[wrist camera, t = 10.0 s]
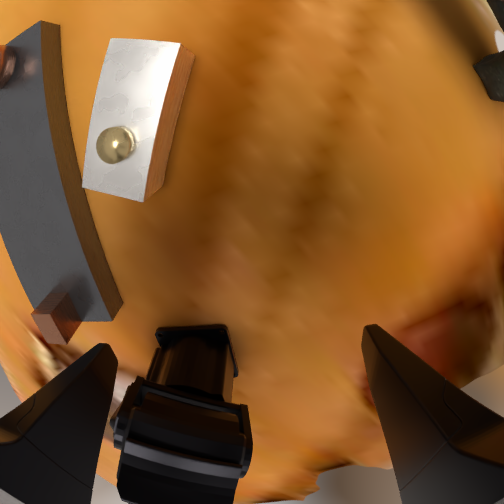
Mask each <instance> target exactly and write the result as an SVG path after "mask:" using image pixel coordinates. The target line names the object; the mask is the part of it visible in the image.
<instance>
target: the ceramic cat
mask: <svg viewBox="0 0 504 504" xmlns="http://www.w3.org/2000/svg"><path fill="white" fill-rule="evenodd" d="M487 2H488V4H489V6H490V7H491V9H492V11H493V13H494V15H495V17H496V19H497V21H498V23H499V25H500V27H501V28H502V30H503V32H504V0H487ZM473 67H474V69H475V70H476V72H477V73H478V75H479V76H480V77H481V79H482V81H483V83H484V85H485V87H486V89H487V92H488V95H489V97H490V99H492V100H495V101H501V102H504V51H502V52H498V53H495V54H491V55H488V56H486V57H484V58H483V59H482V60H481V61H480V62H479V63H477V64H476V65H474V66H473Z"/></svg>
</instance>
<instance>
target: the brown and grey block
mask: <svg viewBox="0 0 504 504" xmlns="http://www.w3.org/2000/svg"><path fill="white" fill-rule="evenodd" d="M194 59H195V55H194V54H192V53H191V52H190V51H189V50H188V49H187V48H185V47H184V46H183V45H182V44H180V43H173V42H164V41H154V40H141V39H122V38H111V39H110V43H109V46H108V49H107V53H106V56H105V60H104V63H103V67H102V71H101V75H100V79H99V83H98V87H97V91H96V96H95V100H94V105H93V110H92V116H91V121H90V127H89V133H88V140H87V147H86V154H85V162H84V172H83V182H82V188H87V189H91V190H95V191H99V192H103V193H107V194H111V195H115V196H119V197H123V198H127V199H131V200H135V201H139V202H144V201H145V200H146V199H148V198H149V197H150V196H151V195H152V194H153V193H155V192H156V191H157V190H158V189H159V188H161V187H162V186H163V182H164V177H165V172H166V167H167V162H168V157H169V153H170V148H171V144H172V140H173V135H174V131H175V127H176V123H177V119H178V115H179V111H180V107H181V103H182V100H183V96H184V92H185V89H186V85H187V82H188V78H189V75H190V72H191V68H192V65H193V62H194Z"/></svg>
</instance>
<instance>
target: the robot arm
mask: <svg viewBox="0 0 504 504" xmlns="http://www.w3.org/2000/svg"><path fill="white" fill-rule="evenodd" d="M220 330H222V331H224V332H221V331H220ZM160 333H161V334H160ZM162 334H163V335H162ZM155 336H156V338H157V340H158V343H159V345H160V348H157V349H156V350H155V353H154V355H153V358H152V361H151V364H150V367H149V369H148V372H147V375H146V378H145V379H144V378H143V377H140V376H137V378H136V380H135V382H134V383H133V382H132V384H131V385H130V386H128V388H127V391H126V393H125V396H124V398H123V401H122V402H121V404H120V406H119V407H118V408H117V410H116V411H115V413H114V414H113V416H112V417H111V419H110V426H111V428H112V430H113V431H114V435H113V436H114V448H117V449H120V450H121V455H120V460H119V466H118V471H117V480H118V481H117V489H118V492H119V495H120V498H121V500H122V501H124V502H127V503H128V504H233V501H234V495H235V490H236V487H237V483H238V480H239V478H243V477H244V476H245V475H246V473H247V471H248V468H249V466H250V462H251V457H252V450H253V440H252V433H251V426H250V420H249V413H248V406H247V405H244V404H240V405H239V404H234V403H231V400H232V388H233V378H234V377H237V376H238V367H237V363H236V360H235V356H234V352H233V348H232V344H231V340H230V336H229V332H228V329H227V327H226V326H224V325H214V326H198V327H178V328H158V329H157V330H156V333H155ZM361 347H362V353H363V358H364V362H365V367H366V372H367V377H368V382H369V387H370V390H371V394H372V397H373V400H374V403H375V406H376V409H377V413H378V416H379V419H380V422H381V426H382V429H383V432H384V436H385V439H386V443H387V446H388V450H389V453H390V457H391V460H392V464H393V468H394V471H395V475H396V479H397V483H398V487H399V491H400V496H401V500H402V504H504V417H502V416H500V415H498V414H497V413H495V412H494V411H492V410H490V409H489V408H487V407H485V406H484V405H482V404H481V403H479V402H478V401H476V400H475V399H473V398H472V397H470V396H469V395H467V394H466V393H464V392H463V391H462V390H460V389H459V388H458V387H456V386H455V385H454V384H452V383H451V382H450V381H449V380H447V379H446V380H445V377H444V376H442V375H441V374H440V373H438V372H437V371H436V370H435V369H433V368H432V367H431V366H430V365H428V364H427V363H426V362H425V361H423V360H422V359H421V358H419V357H418V356H417V355H416V354H414V353H413V352H412V351H411V350H409V349H408V348H407V347H405V346H404V345H403V344H402V343H400V342H399V341H398V340H396V339H395V338H394V337H393V336H391V335H390V334H389V333H387V332H386V331H385V330H384V329H382V328H381V327H380V326H378V325H377V324H372V325H366V326H365V327H364V329H363V336H362V343H361ZM117 367H118V360H117V357H116V356H115V354H114V352H113V350H112V348H111V347H110V345H109V344H107V343H99V344H97V345H96V346H94V347H93V348H92V349H90V350H89V351H88V352H86V353H85V354H84V355H83V356H81V357H80V358H79V359H77V360H76V361H75V362H74V363H72V364H71V365H70V366H69V367H67V368H66V369H65V370H63V371H62V372H61V373H60V374H58V375H57V376H56V377H55V378H53V379H52V380H51V381H50V382H48V383H47V384H46V385H44V386H43V387H42V388H41V389H39V390H38V391H37V392H36V393H34V394H33V395H32V396H31V397H29V398H28V399H27V400H26V401H24V402H23V403H22V404H20V405H19V406H18V407H16V408H15V409H13V410H12V411H10V412H9V413H8V414H6V415H5V416H3V417H2V418H0V504H91V497H92V491H93V490H92V489H93V484H94V478H95V473H96V468H97V462H98V457H99V453H100V448H101V443H102V439H103V434H104V430H105V426H106V422H107V417H108V413H109V409H110V405H111V401H112V397H113V391H114V385H115V379H116V373H117Z"/></svg>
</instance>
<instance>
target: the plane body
mask: <svg viewBox="0 0 504 504" xmlns="http://www.w3.org/2000/svg"><path fill="white" fill-rule="evenodd" d="M0 233H1V235H2V238H3V241H4V244H5V246H6V249H7V251H8V254H9V256H10V259H11V261H12V264H13V266H14V268H15V271H16V273H17V275H18V277H19V280H20V282H21V284H22V286H23V288H24V290H25V292H26V294H27V296H28V298H29V300H30V302H31V304H32V306H33V308H34V311H33V312H32V313H31V315H32V317H33V319H34V321H35V323H36V324H37V326H38V328H39V330H40V331H41V333H42V335H43V336H44V338H45V340H46V341H47V343H53V344H65V345H67V344H68V342H69V341H70V339H71V337H72V336H73V334H74V333H75V331H76V330H77V328H78V327H79V325H80V324H81V322H82V321H113V319H114V318H115V316H116V314H117V312H118V311H119V309H120V307H121V306H122V304H123V302H122V300H121V297H120V295H119V292H118V290H117V287H116V285H115V282H114V280H113V277H112V275H111V272H110V269H109V267H108V264H107V261H106V258H105V255H104V253H103V250H102V247H101V244H100V241H99V238H98V235H97V232H96V229H95V226H94V222H93V219H92V216H91V212H90V209H89V206H88V202H87V199H86V195H85V191H84V188H82V180H81V176H80V172H79V167H78V163H77V159H76V154H75V149H74V145H73V140H72V134H71V129H70V123H69V118H68V111H67V105H66V98H65V90H64V82H63V72H62V61H61V46H60V25H57V24H53V23H49V22H45V21H39V22H37V23H36V24H34V25H33V26H31V27H30V28H28V29H27V30H25V31H24V32H23V33H21V34H20V35H18V36H17V37H16V38H14V39H13V40H12V41H10V42H9V43H8V44H6V45H0Z"/></svg>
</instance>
